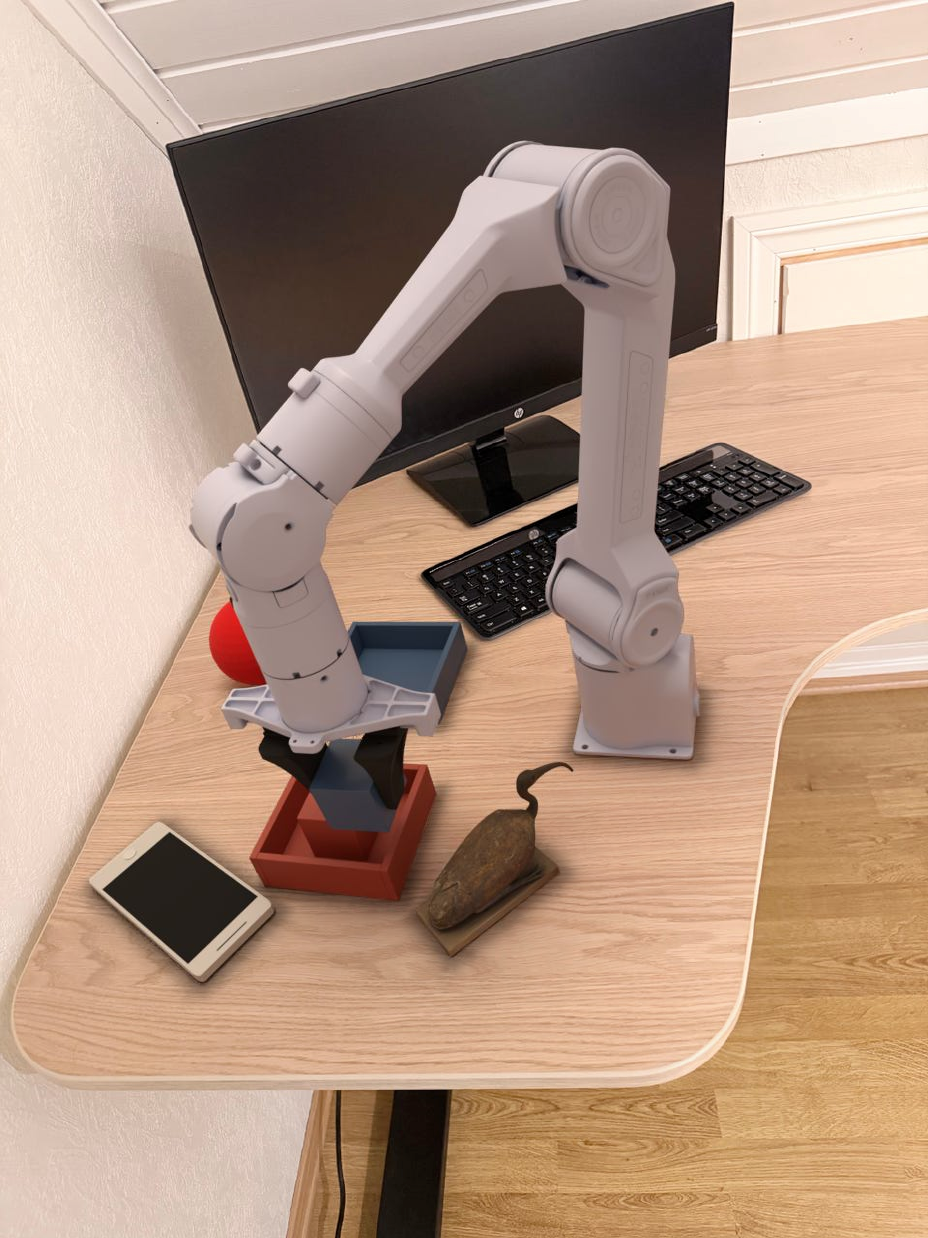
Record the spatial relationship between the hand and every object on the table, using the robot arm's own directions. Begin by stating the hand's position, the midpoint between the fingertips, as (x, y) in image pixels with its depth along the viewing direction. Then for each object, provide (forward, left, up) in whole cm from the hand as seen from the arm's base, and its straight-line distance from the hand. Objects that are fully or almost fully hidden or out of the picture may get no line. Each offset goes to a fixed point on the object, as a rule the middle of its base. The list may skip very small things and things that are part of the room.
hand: (362, 796), depth 64 cm
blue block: (0, 0, -1) cm, 1 cm away
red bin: (+4, -2, -8) cm, 10 cm away
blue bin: (+6, -20, -8) cm, 23 cm away
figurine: (-9, 0, -8) cm, 13 cm away
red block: (+4, -2, -8) cm, 9 cm away
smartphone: (+16, +5, -8) cm, 19 cm away
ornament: (+20, -21, -8) cm, 31 cm away
